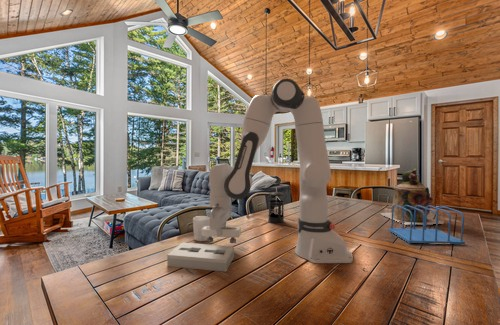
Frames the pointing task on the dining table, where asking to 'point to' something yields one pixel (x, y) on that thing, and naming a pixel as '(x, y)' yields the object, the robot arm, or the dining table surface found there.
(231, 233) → the cream rectangular block
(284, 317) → the dining table surface
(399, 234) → the file sorter
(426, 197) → the cookie jar
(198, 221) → the white cup
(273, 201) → the french press
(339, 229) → the dining table surface
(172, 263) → the mounting board
